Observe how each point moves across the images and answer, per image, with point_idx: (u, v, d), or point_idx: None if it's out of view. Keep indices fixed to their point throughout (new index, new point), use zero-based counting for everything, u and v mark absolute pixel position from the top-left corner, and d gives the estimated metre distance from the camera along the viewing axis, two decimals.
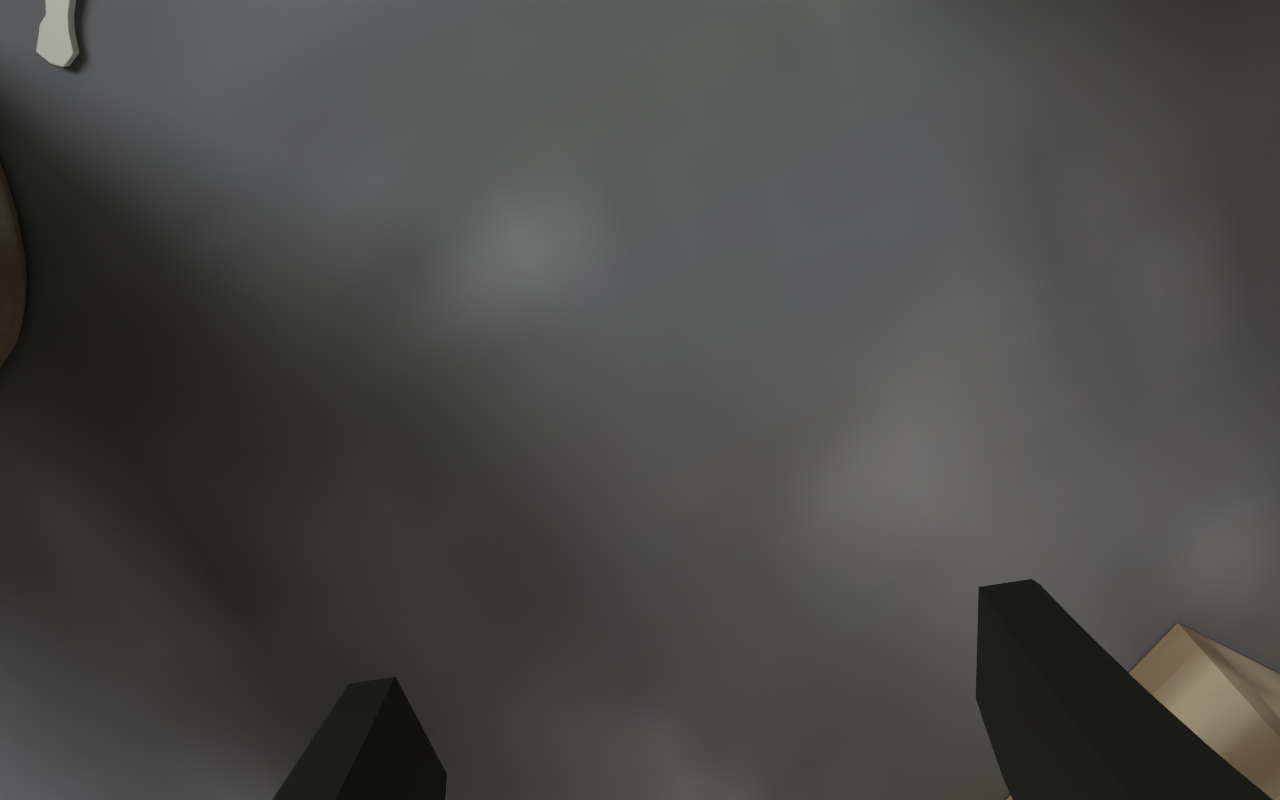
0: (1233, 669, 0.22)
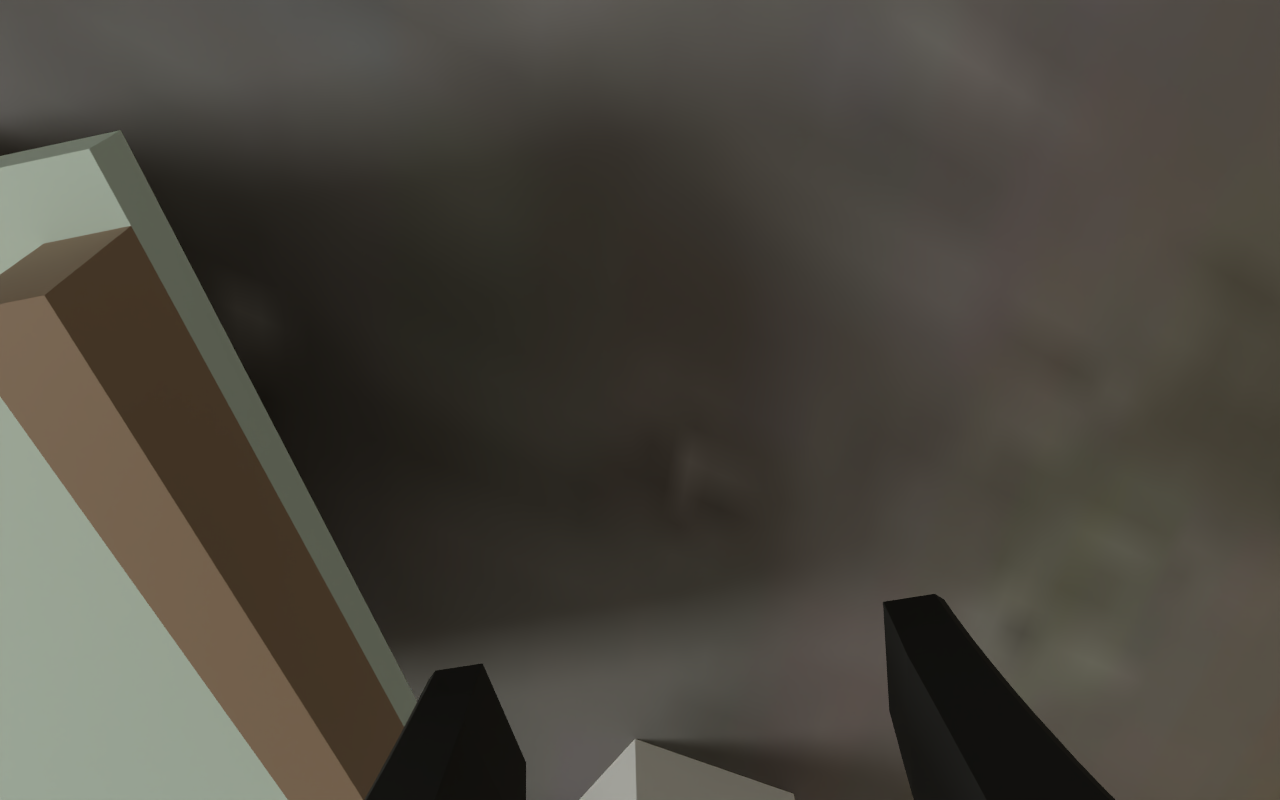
0: None
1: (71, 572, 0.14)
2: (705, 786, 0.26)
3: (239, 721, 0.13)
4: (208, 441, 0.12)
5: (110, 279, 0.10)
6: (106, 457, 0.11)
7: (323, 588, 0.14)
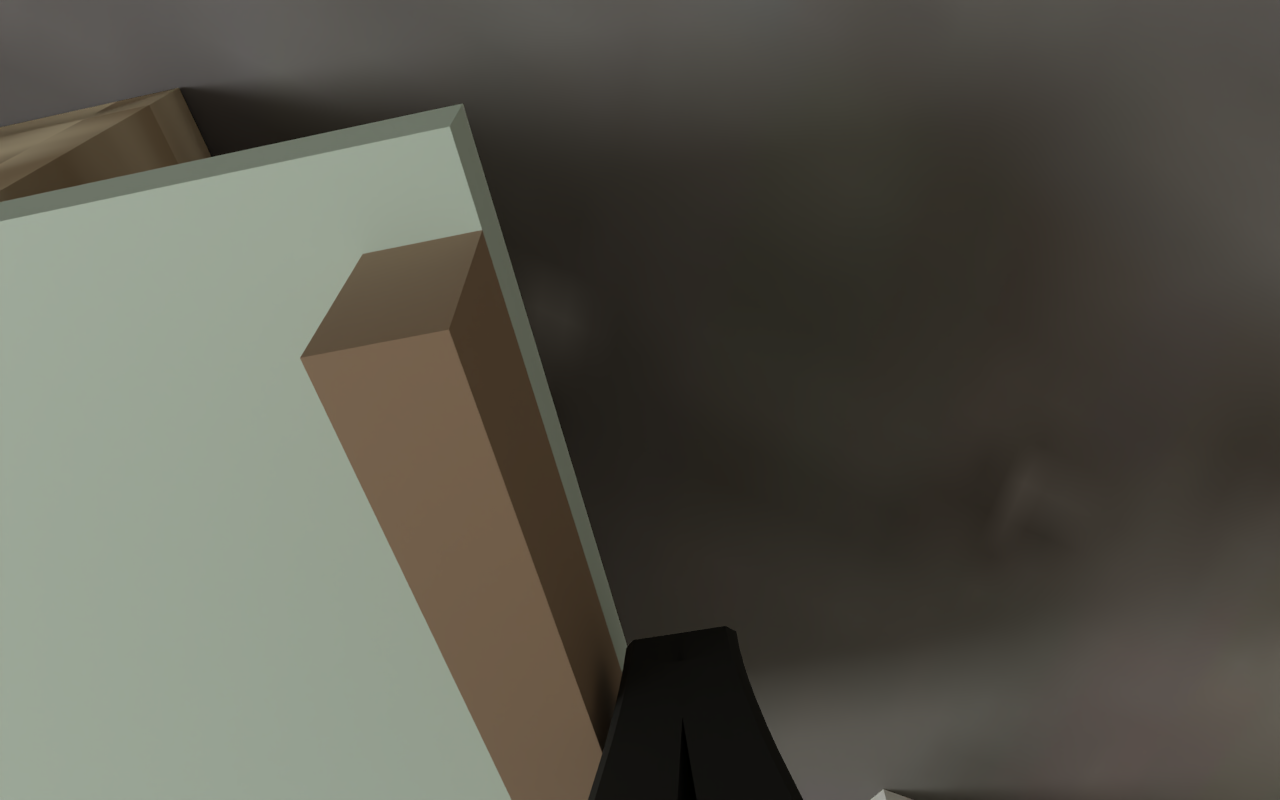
0: None
1: (312, 657, 0.11)
2: None
3: None
4: (551, 509, 0.09)
5: (480, 303, 0.08)
6: (471, 542, 0.08)
7: (620, 676, 0.12)
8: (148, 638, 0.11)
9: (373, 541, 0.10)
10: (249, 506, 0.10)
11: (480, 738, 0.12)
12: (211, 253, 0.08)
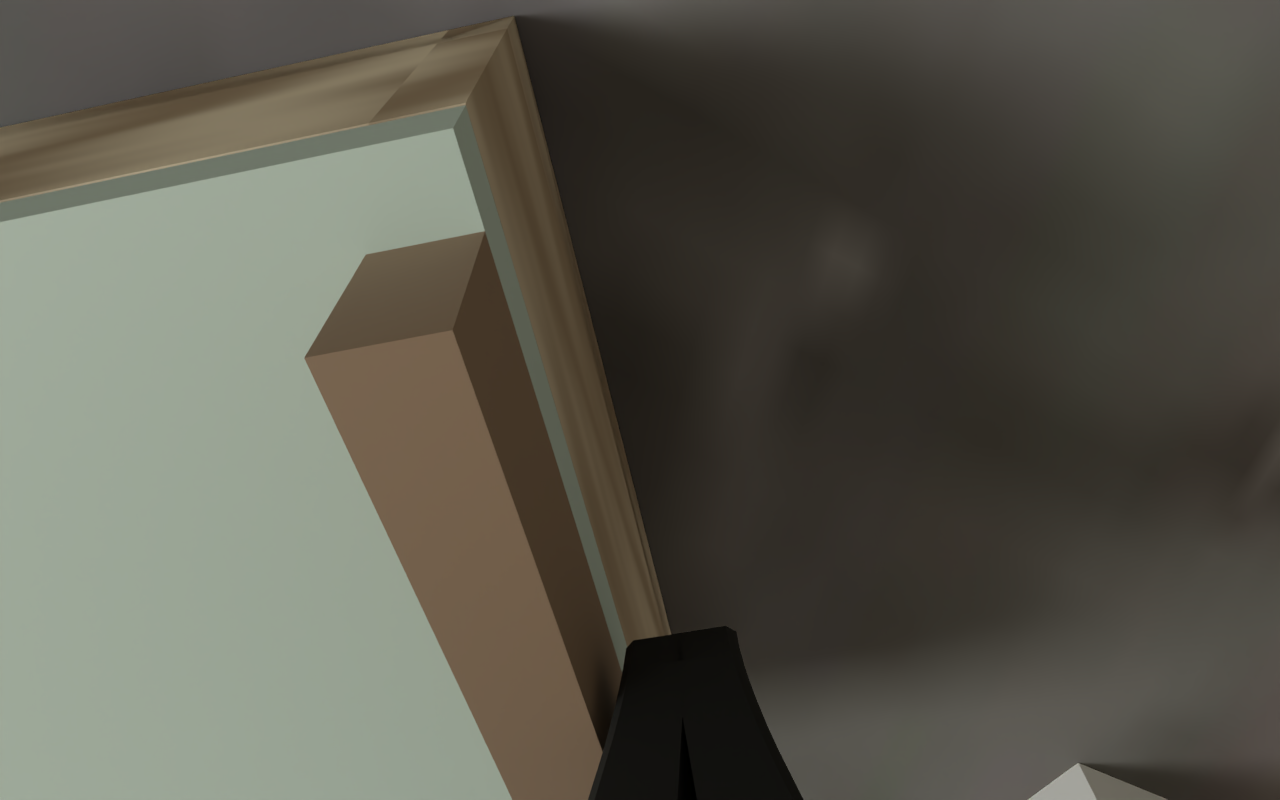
0: None
1: (313, 656, 0.12)
2: None
3: None
4: (552, 509, 0.09)
5: (483, 304, 0.08)
6: (473, 542, 0.08)
7: (620, 676, 0.12)
8: (149, 637, 0.11)
9: (374, 542, 0.10)
10: (250, 505, 0.10)
11: (480, 738, 0.13)
12: (214, 253, 0.08)
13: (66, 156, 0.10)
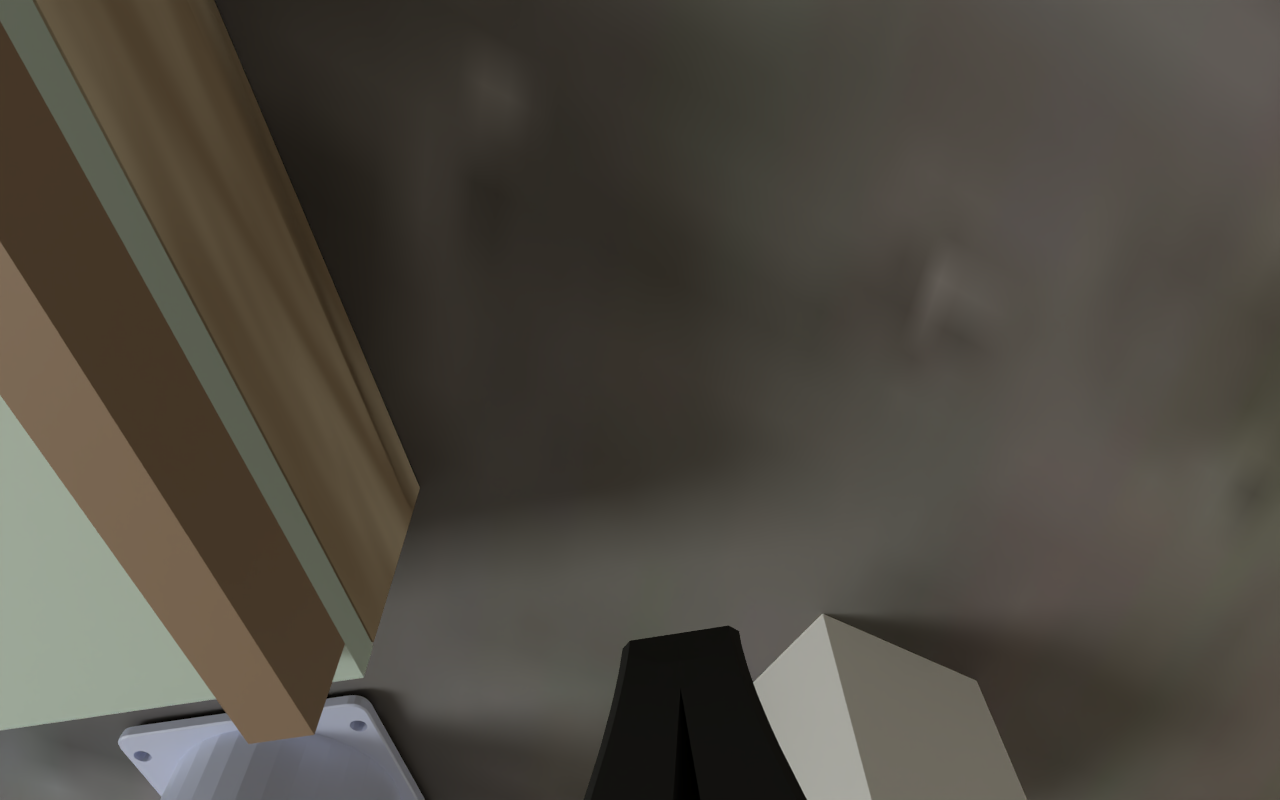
0: None
1: None
2: (896, 664, 0.25)
3: (109, 537, 0.12)
4: (59, 209, 0.11)
5: None
6: None
7: (210, 409, 0.13)
8: None
9: None
10: None
11: None
12: None
13: None
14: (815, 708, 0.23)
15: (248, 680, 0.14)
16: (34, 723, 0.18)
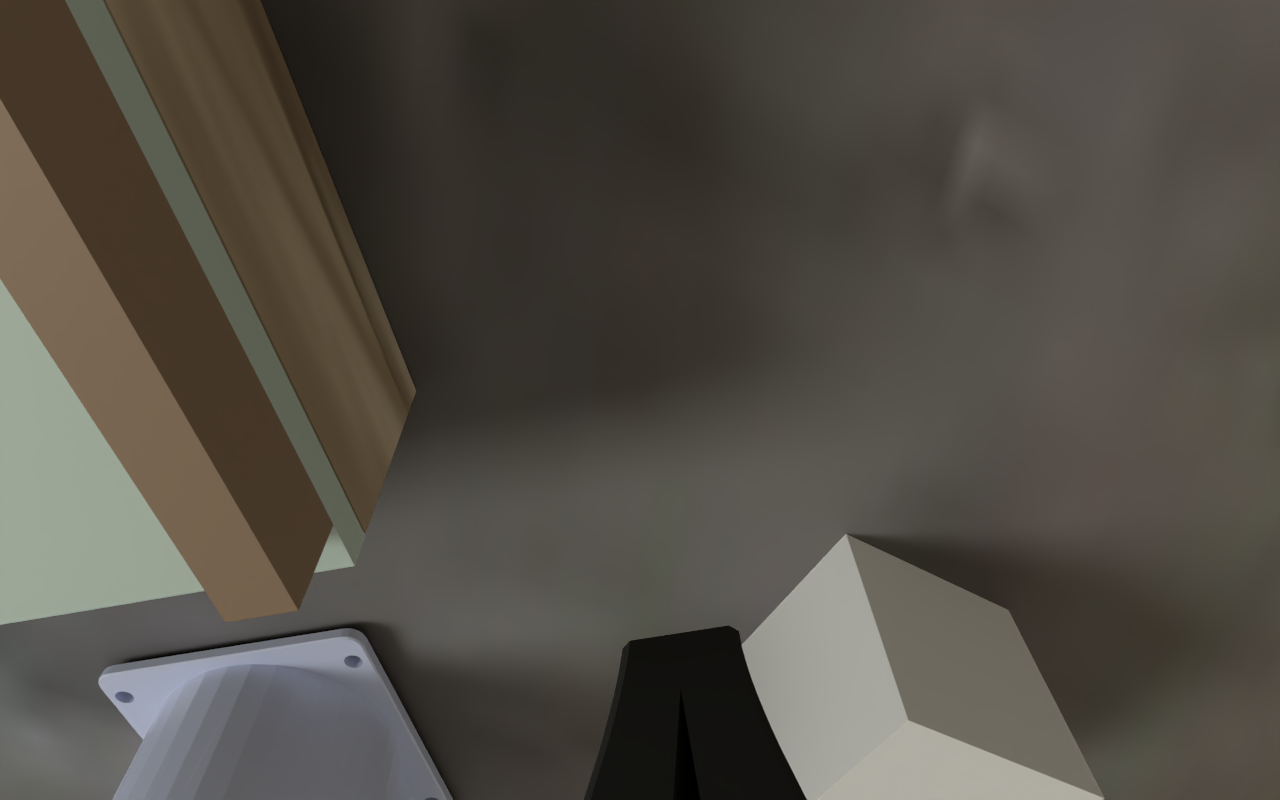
0: None
1: None
2: (925, 587, 0.23)
3: (60, 356, 0.11)
4: None
5: None
6: None
7: (177, 229, 0.12)
8: None
9: None
10: None
11: None
12: None
13: None
14: (841, 629, 0.22)
15: (223, 541, 0.13)
16: None
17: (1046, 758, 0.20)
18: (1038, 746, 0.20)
